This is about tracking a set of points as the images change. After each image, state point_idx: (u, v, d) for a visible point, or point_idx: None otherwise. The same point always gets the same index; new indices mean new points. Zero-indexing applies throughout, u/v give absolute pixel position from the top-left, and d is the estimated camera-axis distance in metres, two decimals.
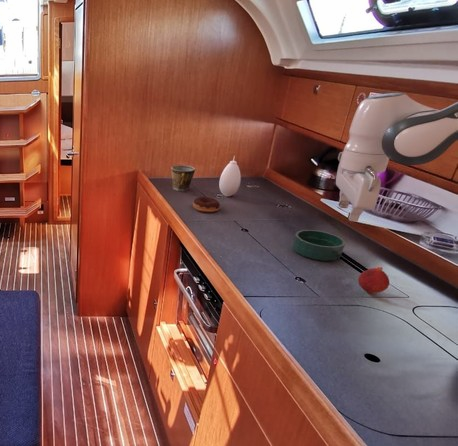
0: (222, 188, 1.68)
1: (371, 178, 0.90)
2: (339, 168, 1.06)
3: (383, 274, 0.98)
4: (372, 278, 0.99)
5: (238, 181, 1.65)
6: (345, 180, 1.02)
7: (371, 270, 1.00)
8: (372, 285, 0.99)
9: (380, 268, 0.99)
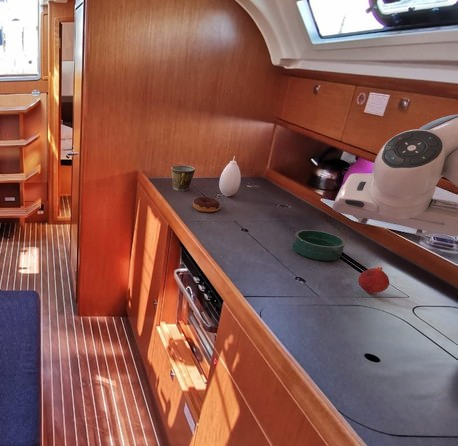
0: (222, 188, 1.68)
1: None
2: (341, 204, 0.84)
3: (383, 274, 0.98)
4: (372, 278, 0.99)
5: (238, 181, 1.65)
6: (377, 213, 0.81)
7: (371, 270, 1.00)
8: (372, 285, 0.99)
9: (380, 268, 0.99)
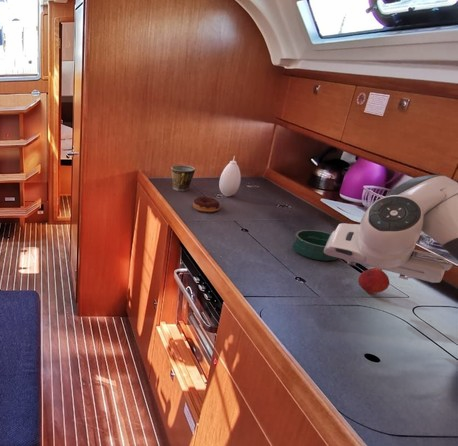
0: (222, 188, 1.68)
1: (444, 265, 0.78)
2: (331, 250, 0.92)
3: (383, 274, 0.98)
4: (372, 278, 0.99)
5: (238, 181, 1.65)
6: None
7: (371, 270, 1.00)
8: (372, 285, 0.99)
9: None
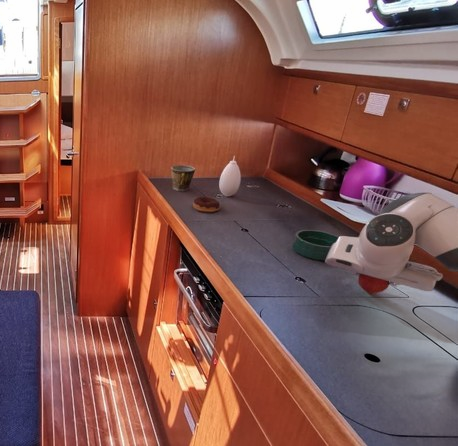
0: (222, 188, 1.68)
1: (435, 276, 0.86)
2: (332, 260, 0.99)
3: None
4: (372, 277, 0.99)
5: (238, 181, 1.65)
6: None
7: None
8: (372, 285, 0.99)
9: None
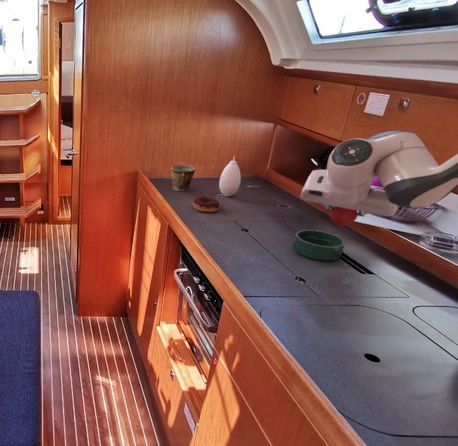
0: (222, 188, 1.68)
1: None
2: (306, 194, 1.09)
3: None
4: (342, 209, 1.08)
5: (238, 181, 1.65)
6: (333, 200, 1.06)
7: None
8: (342, 216, 1.08)
9: None
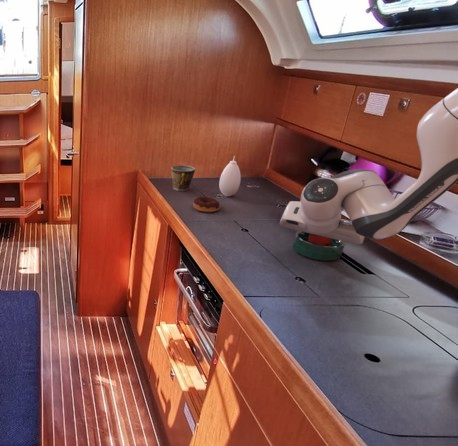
0: (222, 188, 1.68)
1: None
2: (285, 222, 1.20)
3: None
4: (318, 237, 1.19)
5: (238, 181, 1.65)
6: None
7: None
8: (317, 243, 1.19)
9: None
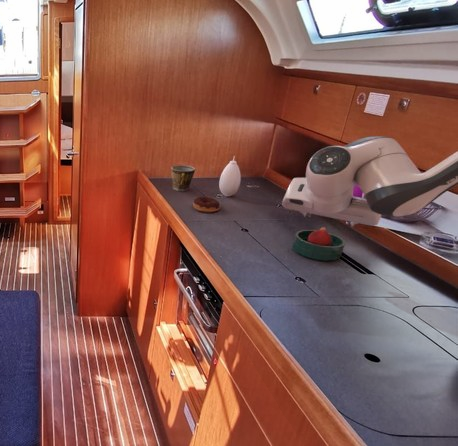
0: (222, 188, 1.68)
1: None
2: (288, 202, 1.05)
3: (326, 234, 1.18)
4: (318, 237, 1.19)
5: (238, 181, 1.65)
6: None
7: (316, 231, 1.20)
8: (317, 243, 1.19)
9: (324, 229, 1.19)
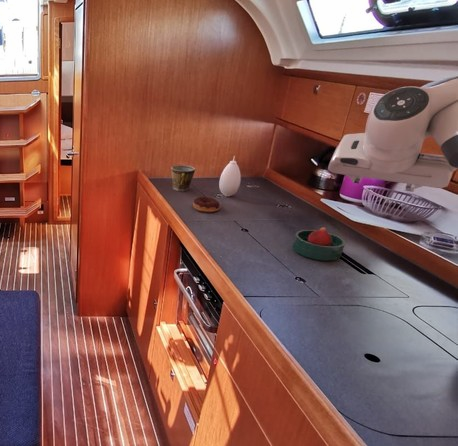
0: (222, 188, 1.68)
1: None
2: (336, 164, 0.91)
3: (326, 234, 1.18)
4: (318, 237, 1.19)
5: (238, 181, 1.65)
6: (370, 170, 0.88)
7: (316, 231, 1.20)
8: (317, 243, 1.19)
9: (324, 229, 1.19)
